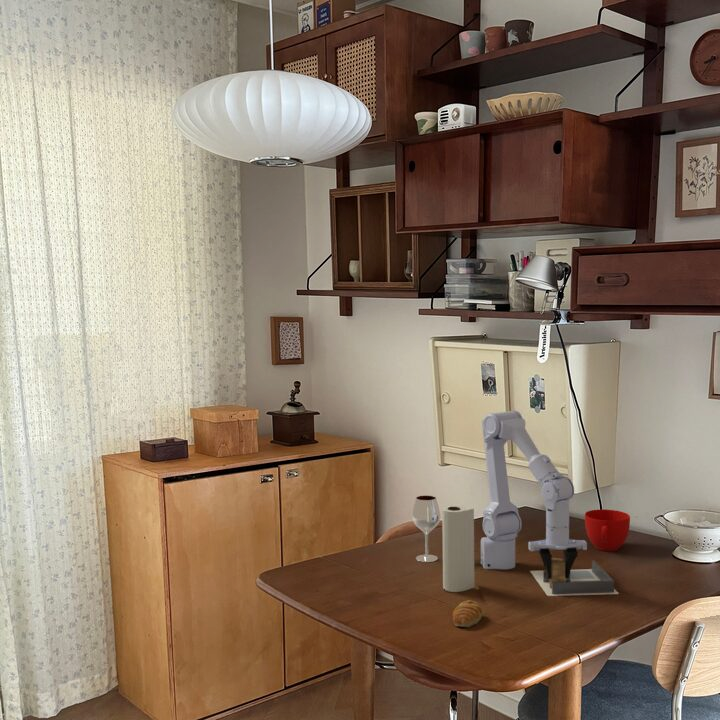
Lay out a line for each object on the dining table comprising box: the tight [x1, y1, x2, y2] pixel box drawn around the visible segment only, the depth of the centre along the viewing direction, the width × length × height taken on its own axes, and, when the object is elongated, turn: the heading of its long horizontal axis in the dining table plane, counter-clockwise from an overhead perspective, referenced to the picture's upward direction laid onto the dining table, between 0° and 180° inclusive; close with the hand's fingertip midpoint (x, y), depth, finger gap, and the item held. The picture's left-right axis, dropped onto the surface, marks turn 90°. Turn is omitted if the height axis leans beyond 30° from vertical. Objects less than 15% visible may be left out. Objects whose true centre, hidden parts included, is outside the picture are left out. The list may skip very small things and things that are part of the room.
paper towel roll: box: [441, 505, 475, 593], centre depth 210 cm, size 7×6×21 cm
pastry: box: [452, 599, 485, 628], centre depth 191 cm, size 9×7×4 cm
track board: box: [529, 568, 620, 597], centre depth 212 cm, size 18×18×1 cm
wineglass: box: [411, 495, 441, 563], centre depth 235 cm, size 8×8×18 cm
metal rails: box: [542, 559, 615, 594], centre depth 212 cm, size 16×16×3 cm
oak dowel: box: [550, 557, 566, 589], centre depth 208 cm, size 4×4×7 cm
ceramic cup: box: [584, 508, 631, 552], centre depth 241 cm, size 13×17×10 cm
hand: (557, 577), depth 208 cm, fingers closed on oak dowel, 4 cm apart
